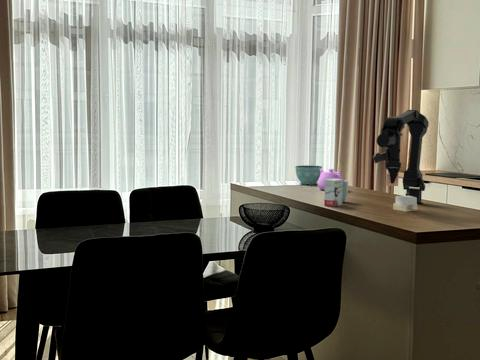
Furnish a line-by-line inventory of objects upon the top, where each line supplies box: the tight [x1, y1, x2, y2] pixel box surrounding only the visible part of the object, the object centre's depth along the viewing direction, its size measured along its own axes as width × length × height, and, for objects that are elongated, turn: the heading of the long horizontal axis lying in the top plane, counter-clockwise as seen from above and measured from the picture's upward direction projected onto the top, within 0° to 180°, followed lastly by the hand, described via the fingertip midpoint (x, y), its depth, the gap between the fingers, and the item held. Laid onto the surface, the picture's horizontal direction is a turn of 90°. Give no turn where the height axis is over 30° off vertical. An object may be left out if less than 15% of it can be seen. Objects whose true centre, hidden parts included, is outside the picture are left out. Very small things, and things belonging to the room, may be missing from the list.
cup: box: [342, 179, 349, 203], centre depth 261 cm, size 8×8×10 cm
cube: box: [385, 172, 400, 187], centre depth 241 cm, size 5×5×5 cm
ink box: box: [323, 178, 344, 208], centre depth 250 cm, size 9×5×12 cm, turn 143°
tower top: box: [394, 195, 418, 206], centre depth 239 cm, size 6×6×3 cm
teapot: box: [317, 168, 344, 191], centre depth 309 cm, size 20×13×12 cm, turn 27°
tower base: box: [392, 202, 418, 213], centre depth 240 cm, size 7×7×3 cm
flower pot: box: [294, 165, 323, 186], centre depth 338 cm, size 16×16×11 cm
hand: (392, 182), depth 242 cm, fingers closed on cube, 5 cm apart
